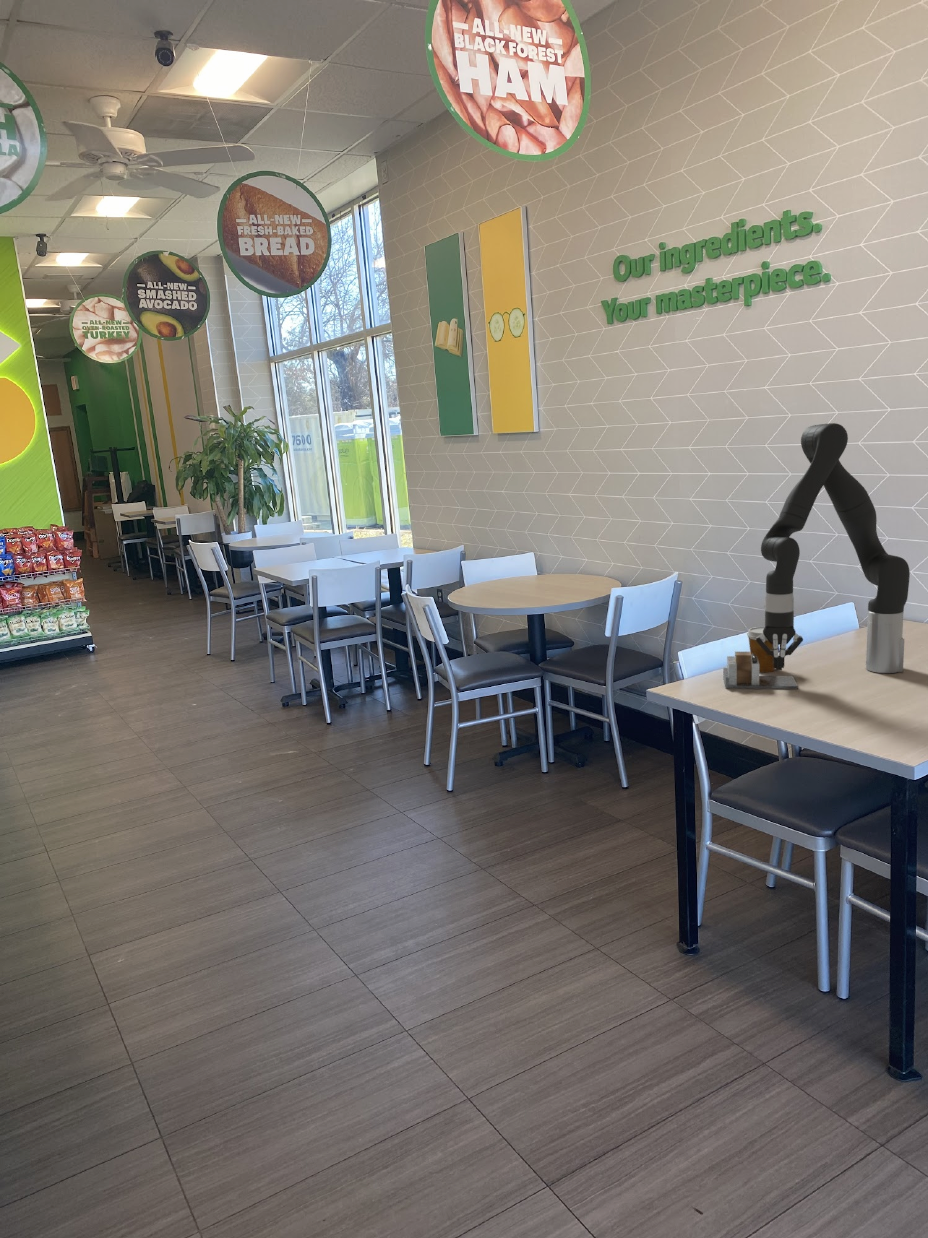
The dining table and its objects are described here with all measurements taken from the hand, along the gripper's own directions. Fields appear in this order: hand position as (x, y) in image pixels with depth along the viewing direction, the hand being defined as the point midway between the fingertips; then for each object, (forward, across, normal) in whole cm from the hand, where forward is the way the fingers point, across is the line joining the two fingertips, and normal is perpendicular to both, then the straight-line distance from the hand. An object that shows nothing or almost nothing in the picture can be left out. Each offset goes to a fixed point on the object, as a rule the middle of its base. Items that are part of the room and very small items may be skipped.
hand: (778, 669), depth 251 cm
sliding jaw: (+4, -7, 0) cm, 8 cm away
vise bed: (+4, -5, 0) cm, 7 cm away
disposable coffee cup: (+4, -3, +15) cm, 16 cm away
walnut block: (+3, -10, 0) cm, 10 cm away
